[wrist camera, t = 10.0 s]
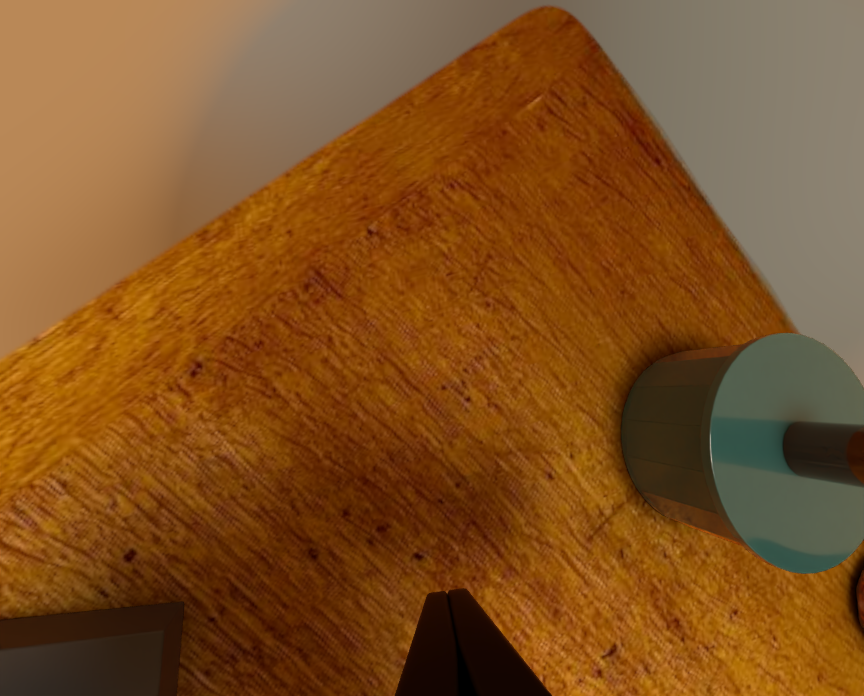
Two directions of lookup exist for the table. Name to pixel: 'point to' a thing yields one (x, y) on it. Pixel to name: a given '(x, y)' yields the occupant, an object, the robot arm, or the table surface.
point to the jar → (673, 437)
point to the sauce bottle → (861, 598)
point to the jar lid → (787, 452)
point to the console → (93, 653)
